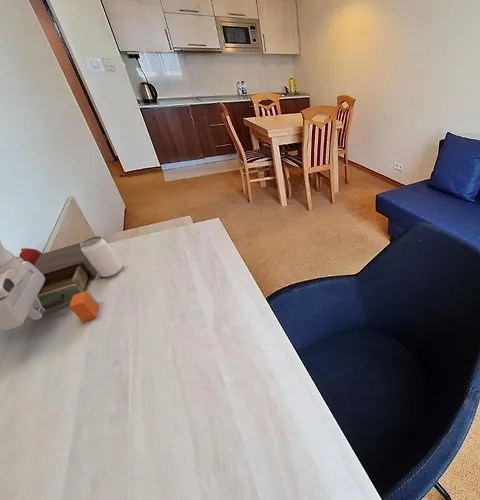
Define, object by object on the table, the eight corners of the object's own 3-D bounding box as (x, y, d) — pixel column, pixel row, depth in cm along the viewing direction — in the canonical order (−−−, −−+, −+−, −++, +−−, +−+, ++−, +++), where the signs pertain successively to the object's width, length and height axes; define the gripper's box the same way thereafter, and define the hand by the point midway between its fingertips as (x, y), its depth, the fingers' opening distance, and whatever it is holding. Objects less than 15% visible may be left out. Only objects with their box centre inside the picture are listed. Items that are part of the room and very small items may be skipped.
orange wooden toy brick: (83, 322, 81) (68, 306, 78) (87, 307, 86) (74, 291, 83) (95, 317, 82) (82, 302, 79) (99, 302, 87) (87, 287, 84)
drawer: (82, 305, 85) (71, 293, 83) (23, 326, 81) (10, 313, 78) (93, 271, 99) (84, 259, 97) (43, 286, 95) (33, 275, 92)
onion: (34, 263, 109) (17, 245, 104) (52, 259, 110) (37, 241, 105) (25, 273, 104) (7, 254, 100) (44, 268, 106) (27, 250, 101)
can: (104, 268, 102) (82, 239, 95) (125, 263, 103) (105, 233, 96) (98, 280, 97) (74, 249, 90) (120, 274, 98) (99, 243, 91)
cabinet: (95, 277, 98) (82, 261, 94) (40, 295, 93) (24, 279, 89) (102, 254, 109) (91, 239, 106) (53, 269, 105) (40, 254, 101)
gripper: (0, 257, 77) (37, 296, 85) (-41, 307, 62) (10, 348, 70) (30, 249, 79) (64, 288, 87) (-2, 295, 64) (43, 337, 72)
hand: (40, 315), depth 78 cm, fingers closed
